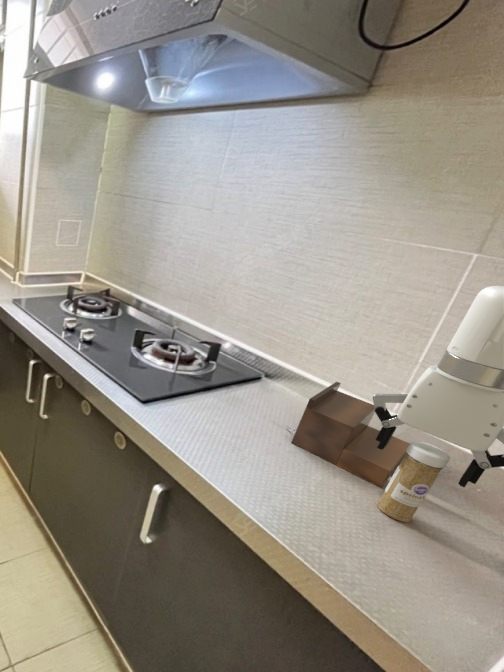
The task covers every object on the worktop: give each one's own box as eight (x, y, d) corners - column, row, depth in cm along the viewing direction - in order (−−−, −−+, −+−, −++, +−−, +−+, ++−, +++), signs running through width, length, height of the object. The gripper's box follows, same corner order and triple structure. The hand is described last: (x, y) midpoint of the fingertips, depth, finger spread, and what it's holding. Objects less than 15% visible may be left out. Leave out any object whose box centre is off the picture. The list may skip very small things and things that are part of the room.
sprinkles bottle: (393, 522, 65) (432, 458, 60) (368, 501, 69) (403, 439, 64) (419, 523, 65) (459, 459, 60) (392, 502, 69) (429, 440, 64)
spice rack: (402, 459, 82) (427, 415, 78) (380, 487, 73) (407, 439, 69) (318, 421, 93) (336, 381, 89) (290, 442, 84) (309, 398, 80)
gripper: (573, 393, 53) (502, 490, 59) (403, 344, 66) (360, 428, 72) (573, 407, 49) (497, 510, 55) (392, 351, 62) (347, 440, 68)
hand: (419, 463), depth 63 cm, fingers open, 9 cm apart
